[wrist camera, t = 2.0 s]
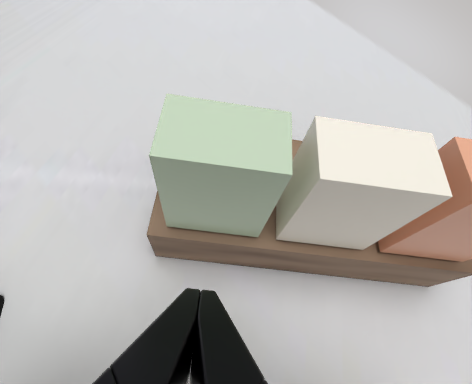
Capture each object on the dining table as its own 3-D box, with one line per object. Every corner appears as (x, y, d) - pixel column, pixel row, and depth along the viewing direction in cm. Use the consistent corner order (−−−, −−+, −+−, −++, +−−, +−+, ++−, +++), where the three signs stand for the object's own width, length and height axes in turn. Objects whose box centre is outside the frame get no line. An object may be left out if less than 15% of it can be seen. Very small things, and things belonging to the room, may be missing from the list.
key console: (428, 286, 20) (477, 273, 17) (155, 255, 19) (146, 234, 15) (405, 188, 24) (440, 160, 20) (177, 157, 23) (174, 122, 19)
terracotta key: (462, 261, 17) (601, 216, 11) (379, 251, 16) (478, 200, 11) (448, 214, 18) (563, 153, 12) (372, 204, 18) (454, 136, 12)
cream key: (362, 249, 16) (452, 196, 10) (275, 239, 16) (320, 178, 10) (356, 202, 18) (432, 133, 12) (276, 192, 17) (315, 115, 12)
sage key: (258, 237, 16) (292, 174, 10) (166, 226, 15) (149, 155, 10) (260, 190, 17) (291, 112, 12) (176, 179, 17) (166, 93, 11)
